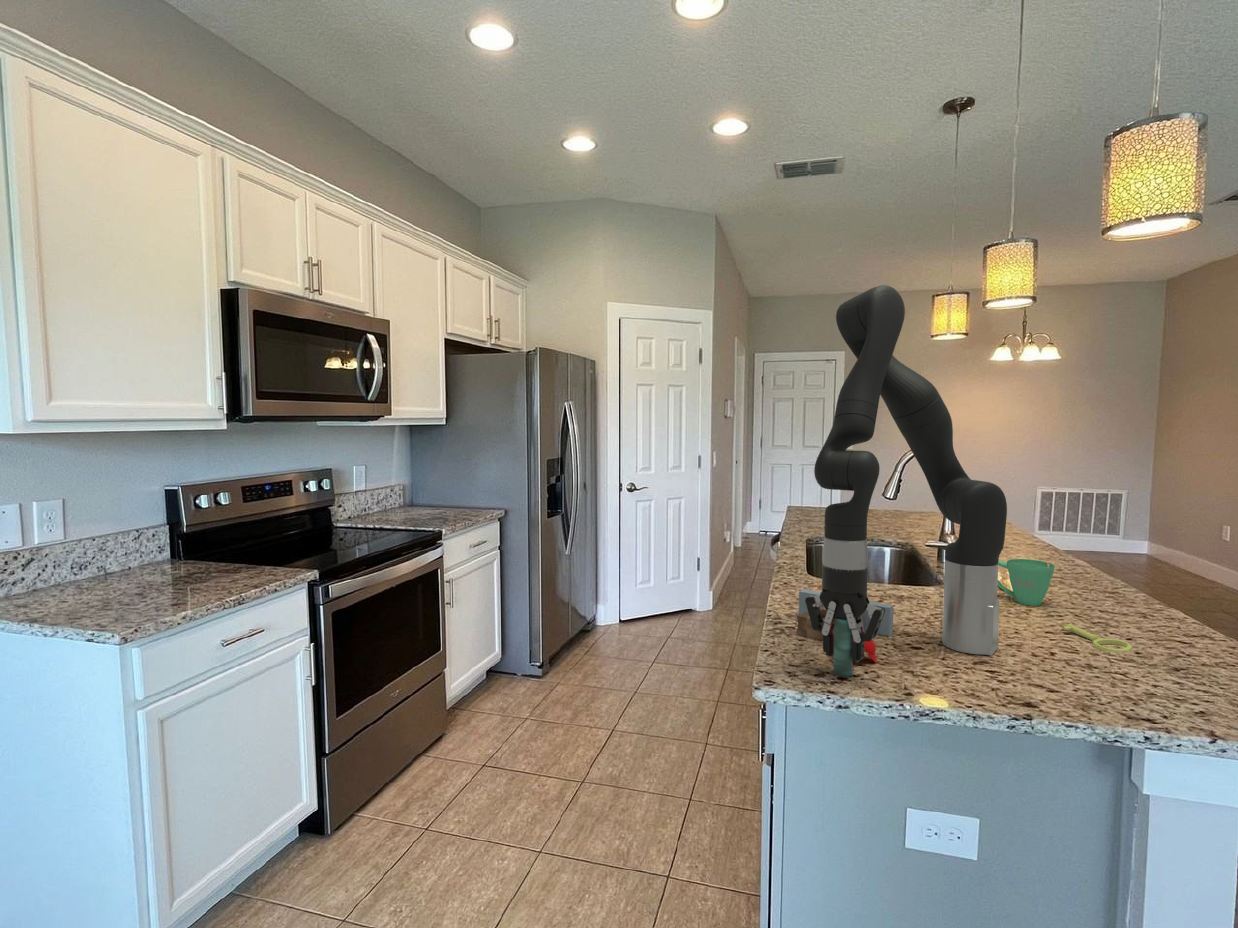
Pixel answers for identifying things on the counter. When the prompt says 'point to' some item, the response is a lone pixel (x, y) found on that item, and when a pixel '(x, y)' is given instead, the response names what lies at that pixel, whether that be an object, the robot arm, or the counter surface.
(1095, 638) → the key
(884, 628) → the wall
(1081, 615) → the counter surface
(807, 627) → the holed block
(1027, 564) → the mug
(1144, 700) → the counter surface
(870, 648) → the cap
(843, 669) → the dowel
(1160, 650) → the counter surface
